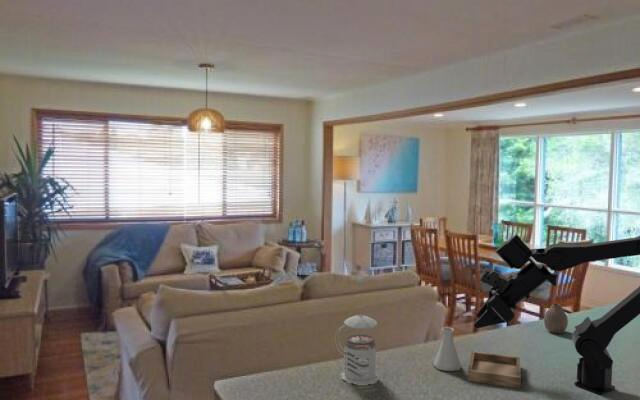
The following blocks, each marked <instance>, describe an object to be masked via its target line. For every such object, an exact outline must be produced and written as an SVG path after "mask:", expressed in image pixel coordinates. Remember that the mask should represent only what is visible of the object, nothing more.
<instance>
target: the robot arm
mask: <svg viewBox="0 0 640 400" xmlns="http://www.w3.org/2000/svg"><path fill="white" fill-rule="evenodd" d="M494 253H495V254H497V256H498V257H500V259H501V260H503V262H504V263H505V264H506V265H507V266H508V267H509V268H510V269H513V268H514V269H517V270H519V269H520V270H519V271H518V272H516V273H515V274H510V275H508V277H507V276H505V275H503V274H502V273H500V272H497V271H496V270H494V269H493V268H491V267H488V266H485V268H484V269H483V272H482V273H481V275H480V277H479V281H480V282H482V283H483V284H487V285H489V286H490V288H489V290H488V298H487V300H486V301H485V302H484V304H482V305H483V306H481V308H480V309H479V310H478V312H477V313H476V315H475V316H476V317H477V318H478V319H477V321H476V322H475V323H474V324H473V326H474V327H475V328H476V329H480V328H485V327H488V326H493V325H500V324H509V323H510V322H511V321H512V320H514V319H515V317H514V315H515V312H514V311H515V309H517V308H518V304H520V303H521V302H522V301H524V300H525V299H526V300H528V299H529V298H530V297H531V295H532V293H535V291H537V289H539V288H540V287H542V285H544V284H546V283H547V282H549V283H550V284H551V285H552V286H553V287H556V286H557V277H558V273H556V272H562V271H565V270H569V269H572V268H575V267H577V266H580V265H582V264H584V263H585V264H586V263H588V262H596V261H604V260H612V259H620V258H627V257H634V256H640V235H637V236H635V237H629V238H622V239H621V238H620V239H615V240H609V241H602V242H596V243H595V242H593V243H588V244H587V243H585V244H577V243H576V244H575V243H552V244H549V245H547V246H546V247H545V248H544V247H542V248H530V247H529V246H528V245H527V244H526V243H525V242H524V241H523V240H522V238H521V237H520V235H518V234H514V235H513V236H512V237H510V238H508V239H507V240H505V241H504V242H503V243H501V244H500V245H499V246H498V247H497V248H496V249H495V250H494ZM532 258H533V259H532ZM528 262H529V263H528ZM527 263H528V264H527ZM538 263H539V264H540V265H539V264H538ZM545 265H546V266H545ZM522 267H523V268H522ZM548 268H549V269H550V270H552V271H556V272H551V271H550V270H549V269H548ZM639 315H640V285H639V286H638V287H637V288H636V289H634V290H633V291H632V292H631V293H630V294H628V296H626V297H625V298H623V299H622V300H621V301H620V302H619V303H617V304H616V305H614V306H613V307H612V308H611V309H610V310H609V311H608V312H606V313H605V314H604V315H602V316H601V317H600V318H596V319H594V320H591V318H590V317H589V316H587V317H586V318H584V320H583V321H582V322H581V323H580V324H578V325H575V326H574V329H575V330H574V331H573V332H572V336H571V337H572V340H571V341H572V343H573V346H574V347H575V350H576V352H577V353H578V355H580V356H581V357H579V360H578V363H577V366H576V380H577V381H575V382H574V385H575V386H577V387H578V388H579V387H580V388H582V389H585V390H587V391H590V392H592V393H595V394H598V395H602V394H606V393H608V392H610V391H613V390H615V389H616V386H615V385H612V380H613V364H614V360H613V358H612V356H611V354H610V353H609V351H608V349H607V348H608V347H609V346H610V343H611V341H612V340H613V338H614V336H615V335H616V334H617V333H618V332H619V331H620V330H622V329H623V328H624V327H626V326H627V325H628V324H629V323H630V322H631V321H633V320H634V319H636V318H637V317H638V316H639Z"/></svg>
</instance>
